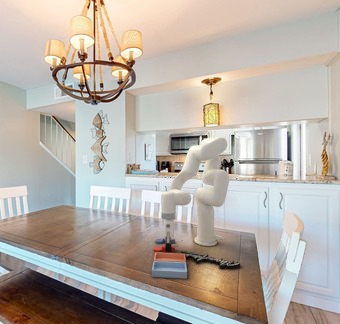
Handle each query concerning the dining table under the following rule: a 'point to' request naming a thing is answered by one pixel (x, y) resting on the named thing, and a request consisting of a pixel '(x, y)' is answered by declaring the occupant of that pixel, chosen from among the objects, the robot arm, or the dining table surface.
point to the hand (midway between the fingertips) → (168, 250)
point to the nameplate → (210, 260)
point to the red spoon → (163, 249)
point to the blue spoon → (163, 241)
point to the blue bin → (169, 269)
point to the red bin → (169, 257)
